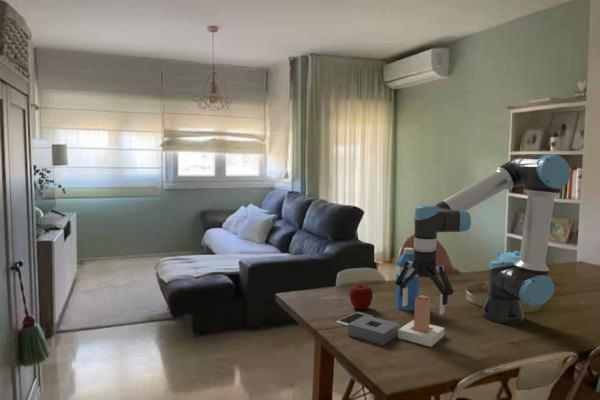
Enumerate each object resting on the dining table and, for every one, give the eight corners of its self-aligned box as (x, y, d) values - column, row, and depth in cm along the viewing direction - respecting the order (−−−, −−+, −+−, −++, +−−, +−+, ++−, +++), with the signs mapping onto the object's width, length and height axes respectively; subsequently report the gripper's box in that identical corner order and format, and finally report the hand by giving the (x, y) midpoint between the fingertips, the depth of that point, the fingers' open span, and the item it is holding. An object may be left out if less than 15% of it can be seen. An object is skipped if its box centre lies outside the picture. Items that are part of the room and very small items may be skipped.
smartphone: (373, 317, 185) (373, 315, 185) (351, 328, 173) (351, 326, 173) (358, 313, 190) (358, 311, 189) (335, 323, 178) (335, 321, 178)
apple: (344, 308, 194) (345, 284, 193) (358, 303, 201) (358, 280, 200) (363, 313, 188) (364, 289, 187) (376, 308, 195) (377, 284, 194)
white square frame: (444, 336, 166) (444, 327, 166) (430, 346, 157) (431, 338, 156) (412, 328, 173) (412, 320, 173) (397, 337, 164) (398, 329, 164)
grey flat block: (399, 334, 167) (399, 323, 166) (383, 345, 157) (383, 333, 157) (364, 325, 175) (365, 315, 175) (347, 334, 166) (348, 324, 165)
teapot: (538, 278, 246) (539, 253, 244) (529, 282, 238) (530, 256, 237) (497, 270, 262) (498, 246, 261) (487, 274, 255) (488, 249, 253)
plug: (428, 336, 165) (430, 296, 164) (424, 340, 162) (426, 299, 161) (418, 333, 168) (419, 294, 166) (413, 337, 165) (415, 296, 163)
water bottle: (418, 311, 192) (420, 251, 189) (395, 309, 194) (397, 250, 191) (417, 304, 201) (419, 247, 198) (395, 302, 203) (397, 245, 200)
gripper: (464, 252, 157) (462, 314, 159) (396, 243, 172) (395, 299, 175) (457, 256, 151) (454, 320, 154) (387, 246, 167) (385, 304, 169)
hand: (422, 309), depth 164 cm, fingers open, 13 cm apart
